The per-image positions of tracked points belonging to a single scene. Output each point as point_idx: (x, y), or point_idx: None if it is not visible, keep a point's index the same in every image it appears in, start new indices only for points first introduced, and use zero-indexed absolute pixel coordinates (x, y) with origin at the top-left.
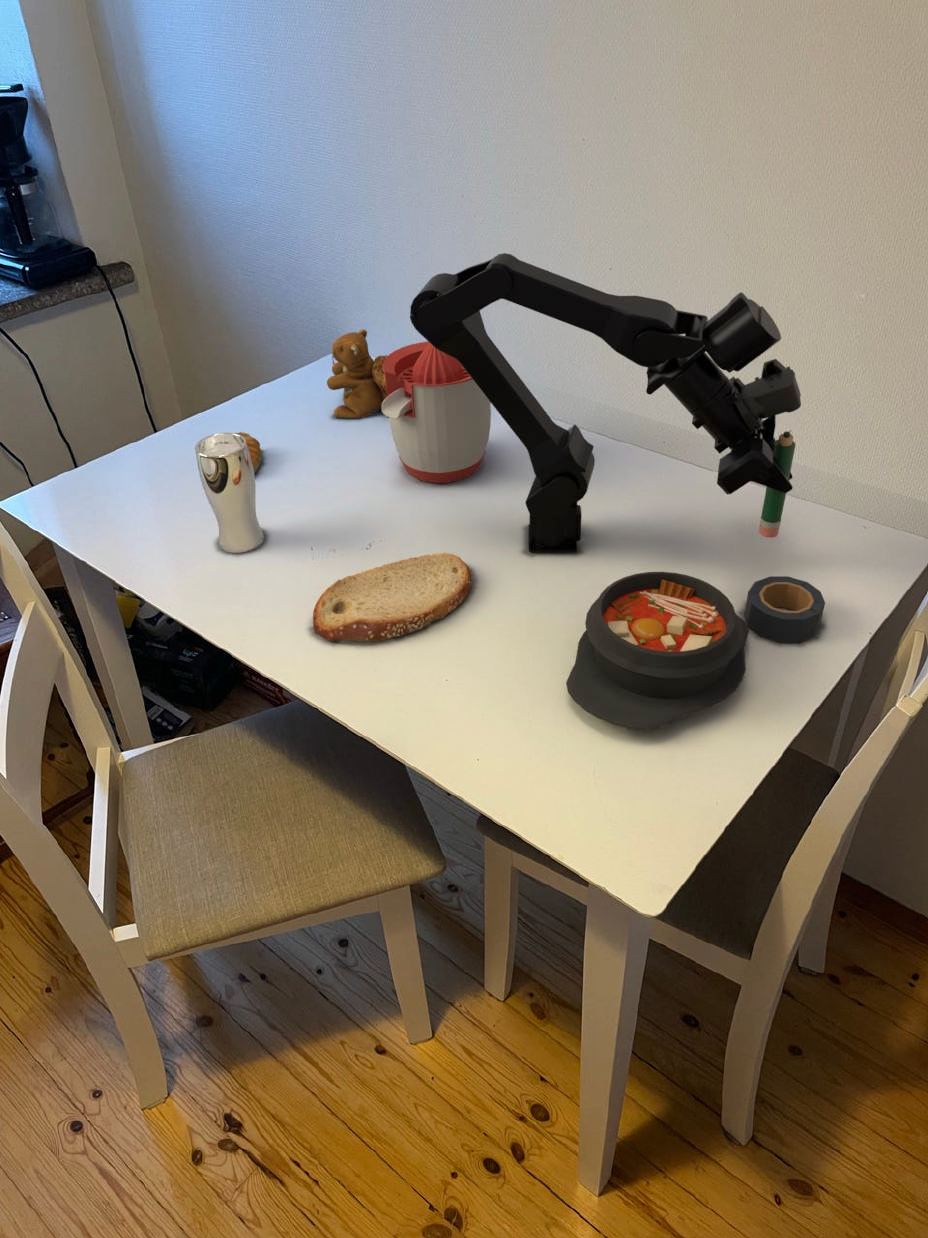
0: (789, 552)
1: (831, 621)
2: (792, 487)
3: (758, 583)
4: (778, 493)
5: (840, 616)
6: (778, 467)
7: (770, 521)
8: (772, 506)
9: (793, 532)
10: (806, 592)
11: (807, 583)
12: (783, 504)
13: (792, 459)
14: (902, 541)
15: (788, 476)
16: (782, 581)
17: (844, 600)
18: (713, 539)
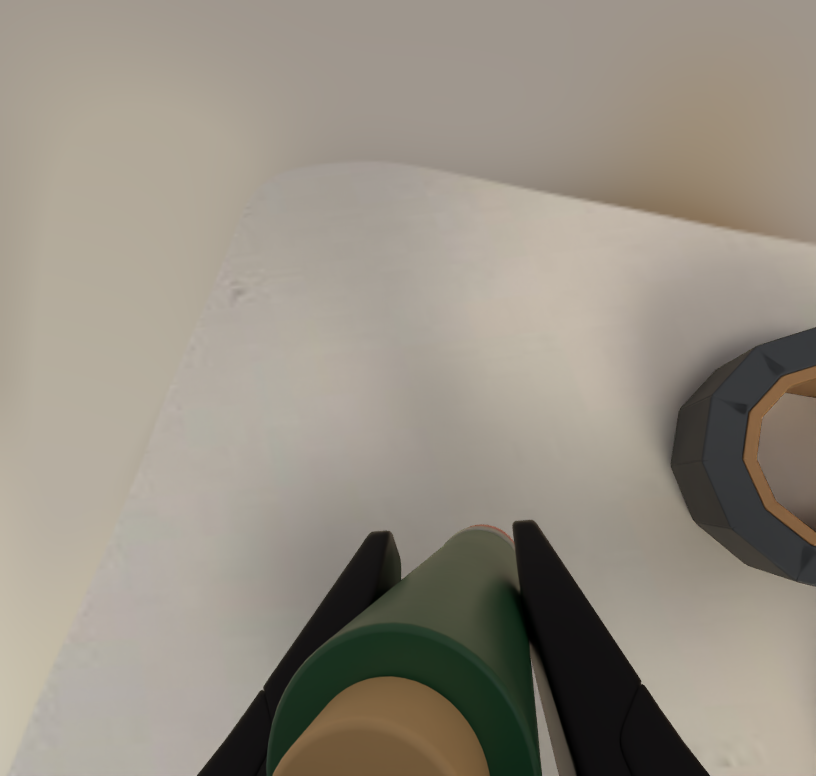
0: (408, 471)
1: (729, 323)
2: (528, 521)
3: (802, 566)
4: None
5: (692, 303)
6: (656, 729)
7: None
8: None
9: (302, 469)
10: (786, 390)
11: (722, 393)
12: (487, 540)
13: (450, 587)
14: (282, 202)
15: (481, 568)
16: (748, 479)
17: (606, 302)
18: None
